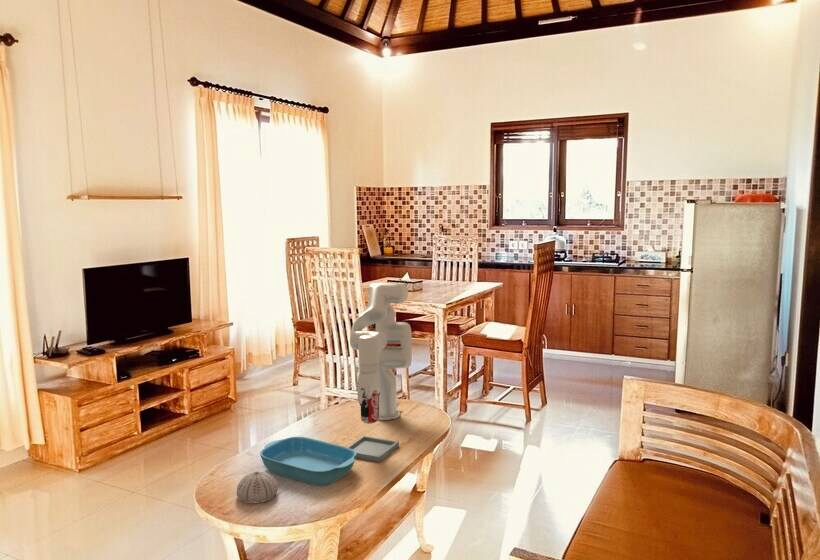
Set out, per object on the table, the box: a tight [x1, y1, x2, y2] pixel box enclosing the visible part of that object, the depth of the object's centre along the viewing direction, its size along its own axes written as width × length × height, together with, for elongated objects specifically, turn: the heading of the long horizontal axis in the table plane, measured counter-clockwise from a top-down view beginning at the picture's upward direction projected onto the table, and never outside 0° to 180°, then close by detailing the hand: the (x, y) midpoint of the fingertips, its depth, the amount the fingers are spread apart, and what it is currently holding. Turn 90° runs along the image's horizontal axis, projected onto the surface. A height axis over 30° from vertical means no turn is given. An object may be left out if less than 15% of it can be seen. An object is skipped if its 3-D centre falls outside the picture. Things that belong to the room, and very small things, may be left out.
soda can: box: [360, 391, 380, 425], centre depth 227 cm, size 7×7×12 cm
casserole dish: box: [259, 436, 357, 487], centre depth 212 cm, size 37×22×7 cm, turn 59°
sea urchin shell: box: [235, 470, 279, 503], centre depth 193 cm, size 13×14×8 cm
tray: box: [346, 435, 400, 463], centre depth 229 cm, size 16×16×2 cm
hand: (370, 413), depth 227 cm, fingers closed on soda can, 6 cm apart
